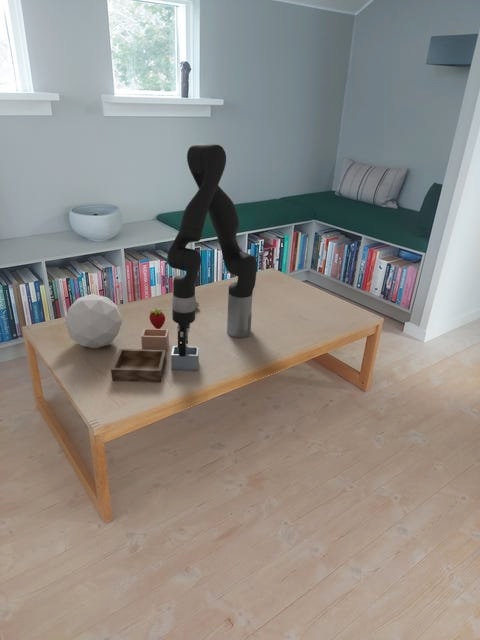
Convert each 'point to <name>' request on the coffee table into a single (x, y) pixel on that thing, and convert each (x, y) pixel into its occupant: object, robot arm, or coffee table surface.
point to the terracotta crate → (155, 339)
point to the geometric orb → (93, 321)
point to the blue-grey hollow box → (185, 359)
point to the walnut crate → (139, 365)
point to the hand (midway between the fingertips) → (183, 349)
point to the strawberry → (157, 318)
